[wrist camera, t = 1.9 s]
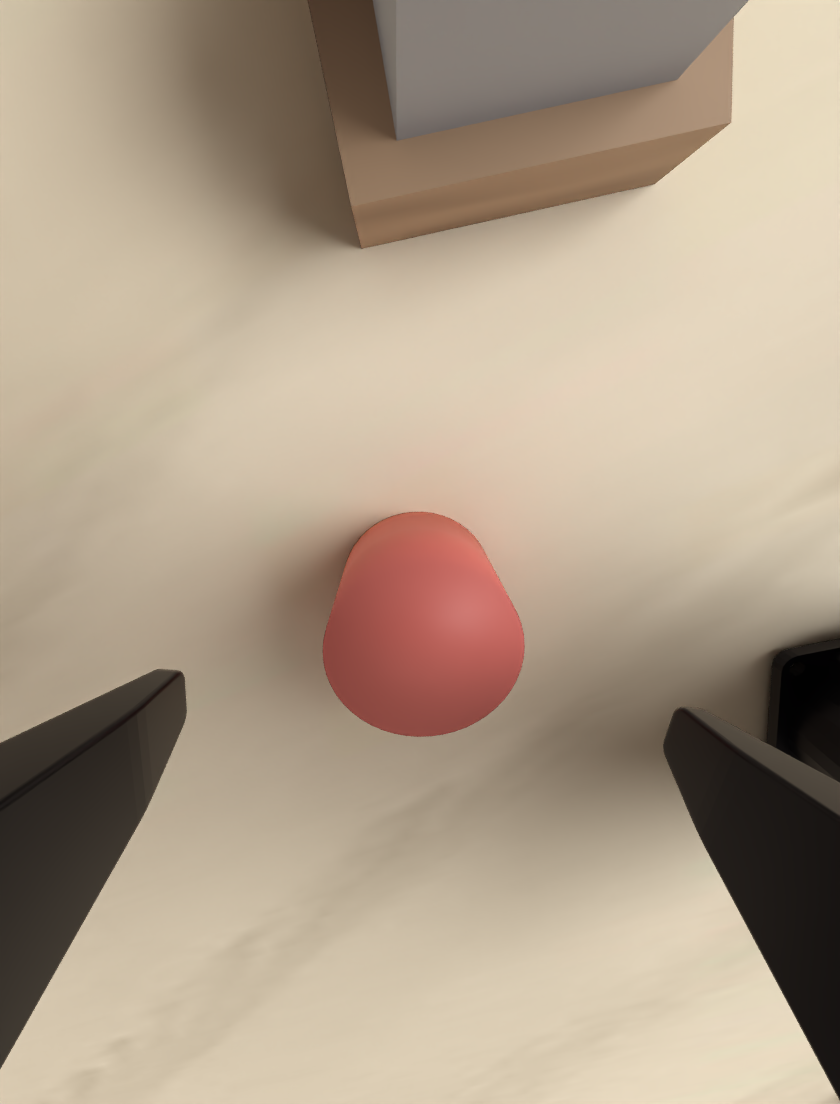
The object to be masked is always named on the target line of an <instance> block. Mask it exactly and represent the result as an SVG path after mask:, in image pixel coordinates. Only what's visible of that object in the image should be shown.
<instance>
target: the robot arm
mask: <svg viewBox="0 0 840 1104" xmlns="http://www.w3.org/2000/svg"><path fill="white" fill-rule="evenodd" d="M186 713H187V707H186V690H185V677H184V675H183V673H182V672H181V671H179V670H166V669H157V670H154V671H152V672H150V673H148V674H146V675H144V676H141V677H139V678H137V679H135V680H133V681H131V682H129V683H127V684H124V685H122V686H120V687H118V688H116V689H114V690H112V691H110V692H107V693H105V694H103V695H101V696H99V697H97V698H95V699H93V700H91V701H88V702H86V703H84V704H82V705H80V706H78V707H76V708H74V709H71V710H69V711H67V712H65V713H63V714H61V715H59V716H57V717H54V718H52V719H50V720H48V721H46V722H44V723H42V724H40V725H37V726H35V727H33V728H31V729H29V730H27V731H25V732H23V733H21V734H18V735H16V736H14V737H12V738H10V739H8V740H6V741H4V742H1V743H0V1069H1V1067H2V1065H3V1064H4V1062H5V1060H6V1058H7V1057H8V1055H9V1053H10V1051H11V1049H12V1048H13V1046H14V1044H15V1042H16V1041H17V1039H18V1037H19V1035H20V1034H21V1032H22V1030H23V1028H24V1026H25V1025H26V1023H27V1021H28V1019H29V1018H30V1016H31V1014H32V1012H33V1010H34V1009H35V1007H36V1005H37V1003H38V1002H39V1000H40V998H41V996H42V994H43V993H44V991H45V989H46V987H47V986H48V984H49V982H50V980H51V979H52V977H53V975H54V973H55V971H56V970H57V968H58V966H59V964H60V963H61V961H62V959H63V957H64V955H65V954H66V952H67V950H68V948H69V947H70V945H71V943H72V941H73V940H74V938H75V936H76V934H77V932H78V931H79V929H80V927H81V925H82V924H83V922H84V920H85V918H86V916H87V915H88V913H89V911H90V909H91V908H92V906H93V904H94V902H95V901H96V899H97V897H98V895H99V893H100V892H101V890H102V888H103V886H104V885H105V883H106V881H107V879H108V877H109V876H110V874H111V872H112V870H113V869H114V867H115V865H116V863H117V862H118V860H119V858H120V856H121V854H122V853H123V851H124V849H125V847H126V846H127V844H128V842H129V840H130V838H131V837H132V835H133V833H134V831H135V830H136V828H137V826H138V824H139V822H140V821H141V819H142V817H143V815H144V813H145V811H146V809H147V807H148V805H149V803H150V801H151V799H152V796H153V794H154V792H155V790H156V787H157V785H158V783H159V780H160V778H161V776H162V774H163V771H164V769H165V767H166V764H167V762H168V760H169V758H170V755H171V753H172V751H173V748H174V746H175V744H176V741H177V739H178V737H179V735H180V732H181V730H182V728H183V725H184V723H185V719H186ZM663 749H664V754H665V757H666V760H667V762H668V764H669V767H670V769H671V771H672V774H673V776H674V778H675V781H676V783H677V785H678V788H679V790H680V792H681V795H682V797H683V800H684V802H685V804H686V807H687V809H688V811H689V814H690V816H691V818H692V821H693V823H694V825H695V827H696V830H697V832H698V834H699V836H700V838H701V840H702V842H703V844H704V846H705V848H706V850H707V852H708V854H709V856H710V858H711V860H712V862H713V863H714V865H715V867H716V869H717V871H718V873H719V875H720V877H721V878H722V880H723V882H724V884H725V886H726V888H727V890H728V892H729V893H730V895H731V897H732V899H733V901H734V903H735V905H736V907H737V908H738V910H739V912H740V914H741V916H742V918H743V920H744V922H745V924H746V925H747V927H748V929H749V931H750V933H751V935H752V937H753V939H754V940H755V942H756V944H757V946H758V948H759V950H760V952H761V954H762V955H763V957H764V959H765V961H766V963H767V965H768V967H769V969H770V970H771V972H772V974H773V976H774V978H775V980H776V982H777V984H778V986H779V987H780V989H781V991H782V993H783V995H784V997H785V999H786V1001H787V1002H788V1004H789V1006H790V1008H791V1010H792V1012H793V1014H794V1016H795V1017H796V1019H797V1021H798V1023H799V1025H800V1027H801V1029H802V1031H803V1032H804V1034H805V1036H806V1038H807V1040H808V1042H809V1044H810V1046H811V1048H812V1049H813V1051H814V1053H815V1055H816V1057H817V1059H818V1061H819V1063H820V1064H821V1066H822V1068H823V1070H824V1072H825V1074H826V1076H827V1078H828V1079H829V1081H830V1083H831V1085H832V1087H833V1089H834V1091H835V1093H836V1094H837V1096H838V1098H839V1100H840V639H836V640H831V641H826V642H821V643H816V644H811V645H806V646H801V647H795V648H790V649H787V650H784V651H782V652H780V653H779V654H778V655H777V656H776V657H775V658H774V660H773V663H772V672H771V687H770V702H769V718H768V733H767V743H765V742H763V741H761V740H759V739H758V738H756V737H754V736H752V735H750V734H748V733H746V732H745V731H743V730H741V729H739V728H737V727H735V726H733V725H731V724H730V723H728V722H726V721H724V720H722V719H720V718H718V717H717V716H715V715H713V714H711V713H709V712H707V711H705V710H703V709H701V708H692V707H679V708H677V709H676V710H675V711H674V714H673V716H672V719H671V722H670V725H669V728H668V730H667V733H666V736H665V739H664V744H663Z"/></svg>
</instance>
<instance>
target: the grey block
mask: <svg viewBox="0 0 840 1104" xmlns="http://www.w3.org/2000/svg"><path fill="white" fill-rule="evenodd" d="M747 1H748V0H373V5H374V11H375V17H376V23H377V28H378V34H379V40H380V46H381V52H382V58H383V64H384V70H385V75H386V81H387V87H388V93H389V99H390V105H391V111H392V116H393V122H394V128H395V134H396V140H397V141H398V140H402V139H407V138H412V137H416V136H421V135H425V134H430V133H435V132H439V131H444V130H448V129H453V128H458V127H462V126H467V125H471V124H476V123H481V122H485V121H490V120H494V119H499V118H504V117H508V116H513V115H517V114H522V113H527V112H531V111H536V110H540V109H545V108H549V107H554V106H559V105H563V104H568V103H572V102H577V101H582V100H586V99H591V98H595V97H600V96H605V95H609V94H614V93H618V92H623V91H627V90H632V89H637V88H641V87H646V86H650V85H655V84H660V83H664V82H669V81H673V80H677V79H678V78H679V77H680V76H681V75H682V74H683V73H684V71H685V70H686V69H687V68H688V67H689V66H690V65H691V64H692V63H693V61H694V60H695V59H696V58H697V57H698V56H699V55H700V54H701V53H702V51H703V50H704V49H705V48H706V47H707V46H708V45H709V44H710V43H711V41H712V40H713V39H714V38H715V37H716V36H717V35H718V34H719V33H720V31H721V30H722V29H723V28H724V27H725V26H726V25H727V24H728V23H729V21H730V20H731V19H732V18H733V17H734V16H735V15H736V14H737V13H738V11H739V10H740V9H741V8H742V7H743V6H744V5H745V4H746V3H747Z"/></svg>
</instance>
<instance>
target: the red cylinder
mask: <svg viewBox="0 0 840 1104" xmlns="http://www.w3.org/2000/svg"><path fill="white" fill-rule="evenodd" d="M524 647H525V646H524V634H523V629H522V625H521V622H520V619H519V616H518V614H517V612H516V610H515V608H514V606H513V604H512V602H511V600H510V599H509V597H508V595H507V593H506V591H505V589H504V587H503V585H502V584H501V582H500V580H499V578H498V576H497V574H496V572H495V571H494V569H493V567H492V565H491V563H490V561H489V559H488V557H487V556H486V554H485V552H484V550H483V548H482V547H481V545H480V543H479V542H478V541H477V539H476V538H475V537H474V536H473V535H472V534H471V533H470V532H469V531H468V530H467V529H466V528H465V527H463V526H462V525H461V524H459V523H457V522H456V521H454V520H452V519H450V518H447V517H445V516H442V515H438V514H434V513H428V512H409V513H402V514H398V515H395V516H391V517H389V518H387V519H384V520H382V521H380V522H379V523H377V524H375V525H374V526H373V527H371V528H370V529H369V530H367V531H366V532H365V533H364V534H363V535H362V536H361V537H360V538H359V540H358V541H357V542H356V544H355V545H354V547H353V549H352V550H351V552H350V554H349V557H348V559H347V562H346V565H345V568H344V572H343V575H342V578H341V581H340V585H339V588H338V591H337V594H336V598H335V601H334V604H333V607H332V611H331V614H330V617H329V621H328V624H327V627H326V631H325V636H324V640H323V661H324V667H325V671H326V675H327V677H328V680H329V682H330V685H331V687H332V688H333V690H334V692H335V693H336V695H337V696H338V698H339V699H340V700H341V702H342V703H343V704H344V705H345V706H346V707H347V708H348V709H349V710H350V711H351V712H352V713H354V714H355V715H356V716H357V717H359V718H360V719H362V720H363V721H365V722H367V723H368V724H370V725H372V726H374V727H377V728H379V729H381V730H384V731H387V732H391V733H394V734H400V735H405V736H417V737H421V736H436V735H443V734H447V733H451V732H455V731H457V730H460V729H463V728H466V727H468V726H470V725H472V724H474V723H476V722H478V721H479V720H481V719H482V718H484V717H485V716H487V715H488V714H489V713H491V712H492V711H493V710H494V709H495V708H496V707H497V706H498V705H499V704H500V703H501V702H502V701H503V700H504V699H505V698H506V696H507V695H508V694H509V692H510V691H511V689H512V688H513V686H514V684H515V682H516V680H517V678H518V676H519V673H520V670H521V667H522V663H523V658H524Z"/></svg>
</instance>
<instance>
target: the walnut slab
mask: <svg viewBox="0 0 840 1104" xmlns="http://www.w3.org/2000/svg"><path fill="white" fill-rule="evenodd" d="M308 3H309V8H310V13H311V18H312V22H313V27H314V32H315V37H316V42H317V46H318V51H319V56H320V61H321V65H322V70H323V75H324V80H325V84H326V89H327V94H328V99H329V103H330V108H331V113H332V118H333V122H334V127H335V132H336V137H337V141H338V146H339V151H340V156H341V161H342V165H343V170H344V175H345V180H346V184H347V189H348V194H349V199H350V203H351V208H352V212H353V216H354V220H355V224H356V228H357V232H358V236H359V240H360V244H361V248H362V249H363V248H367V247H372V246H376V245H381V244H385V243H390V242H394V241H399V240H403V239H408V238H413V237H417V236H422V235H426V234H431V233H435V232H440V231H444V230H449V229H453V228H458V227H462V226H467V225H471V224H476V223H480V222H485V221H489V220H494V219H499V218H503V217H508V216H512V215H517V214H521V213H526V212H530V211H535V210H539V209H544V208H548V207H553V206H557V205H562V204H566V203H571V202H575V201H580V200H585V199H589V198H594V197H598V196H603V195H607V194H612V193H616V192H621V191H625V190H630V189H634V188H639V187H643V186H648V185H652V184H655V183H656V182H658V181H659V180H660V179H661V178H663V177H664V176H665V175H666V174H668V173H669V172H670V171H671V170H673V169H674V168H675V167H676V166H678V165H679V164H680V163H681V162H683V161H684V160H685V159H686V158H687V157H689V156H690V155H691V154H692V153H694V152H695V151H696V150H697V149H699V148H700V147H701V146H702V145H704V144H705V143H706V142H707V141H709V140H710V139H711V138H712V137H714V136H715V135H716V134H717V133H719V132H720V131H721V130H722V129H724V128H725V127H726V126H727V125H728V124H730V123H731V110H732V66H733V23H734V17H733V18H732V19H731V20H730V21H729V23H728V24H727V25H726V26H725V27H724V28H723V29H722V30H721V31H720V33H719V34H718V35H717V36H716V37H715V38H714V39H713V40H712V41H711V43H710V44H709V45H708V46H707V47H706V48H705V49H704V50H703V51H702V53H701V54H700V55H699V56H698V57H697V58H696V59H695V60H694V61H693V63H692V64H691V65H690V66H689V67H688V68H687V69H686V70H685V71H684V73H683V74H682V75H681V76H680V77H679V78H678V79H677V80H673V81H669V82H664V83H660V84H655V85H650V86H646V87H641V88H637V89H632V90H627V91H623V92H618V93H614V94H609V95H605V96H600V97H595V98H591V99H586V100H582V101H577V102H572V103H568V104H563V105H559V106H554V107H549V108H545V109H540V110H536V111H531V112H527V113H522V114H517V115H513V116H508V117H504V118H499V119H494V120H490V121H485V122H481V123H476V124H471V125H467V126H462V127H458V128H453V129H448V130H444V131H439V132H435V133H430V134H425V135H421V136H416V137H412V138H407V139H402V140H398V141H397V140H396V134H395V128H394V122H393V116H392V111H391V105H390V99H389V93H388V87H387V81H386V75H385V70H384V64H383V58H382V52H381V46H380V40H379V34H378V28H377V23H376V17H375V11H374V5H373V0H308Z"/></svg>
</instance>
